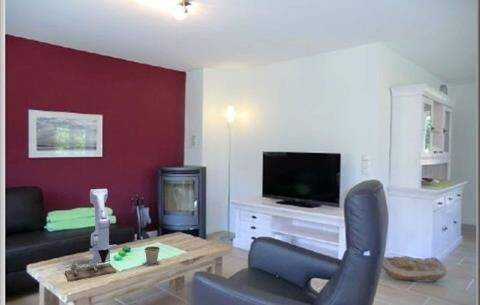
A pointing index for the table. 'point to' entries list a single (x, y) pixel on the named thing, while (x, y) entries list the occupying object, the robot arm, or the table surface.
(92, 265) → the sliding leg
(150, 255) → the flower pot
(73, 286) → the table surface
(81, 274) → the gauge board
